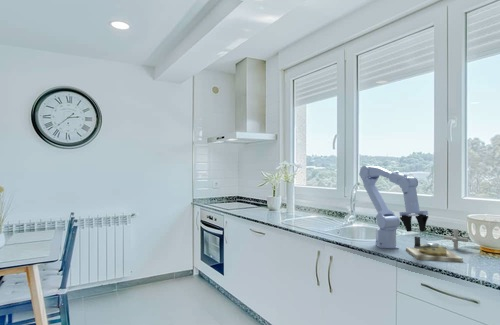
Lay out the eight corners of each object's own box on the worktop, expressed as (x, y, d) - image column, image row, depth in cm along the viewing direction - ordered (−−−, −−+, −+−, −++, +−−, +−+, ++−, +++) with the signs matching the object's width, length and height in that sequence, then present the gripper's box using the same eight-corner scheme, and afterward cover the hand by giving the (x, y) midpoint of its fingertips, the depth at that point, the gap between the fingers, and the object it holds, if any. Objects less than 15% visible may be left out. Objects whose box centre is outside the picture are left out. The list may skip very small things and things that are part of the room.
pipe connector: (445, 245, 163) (445, 226, 164) (468, 248, 157) (468, 228, 157) (442, 249, 156) (442, 229, 156) (466, 252, 149) (466, 231, 150)
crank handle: (430, 248, 151) (430, 232, 151) (452, 254, 140) (452, 237, 140) (405, 251, 145) (405, 234, 145) (426, 257, 135) (426, 239, 135)
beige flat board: (417, 259, 137) (417, 255, 137) (405, 250, 153) (405, 246, 153) (462, 262, 134) (462, 258, 134) (446, 252, 150) (446, 248, 150)
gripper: (393, 203, 153) (397, 231, 151) (417, 201, 140) (422, 232, 137) (404, 202, 156) (408, 230, 153) (429, 200, 142) (434, 231, 140)
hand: (415, 231), depth 145 cm, fingers open, 7 cm apart
